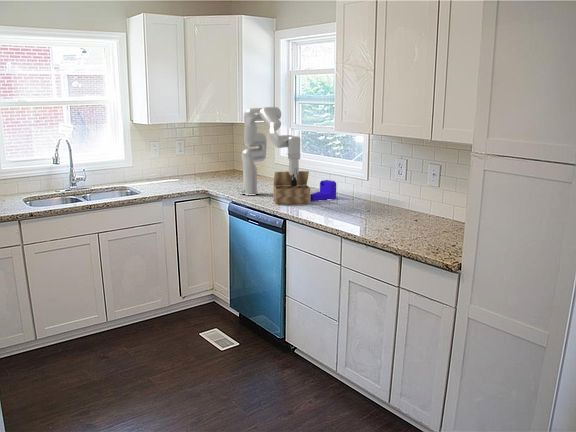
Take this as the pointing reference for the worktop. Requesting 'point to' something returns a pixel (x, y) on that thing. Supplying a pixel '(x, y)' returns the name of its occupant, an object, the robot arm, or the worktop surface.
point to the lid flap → (285, 178)
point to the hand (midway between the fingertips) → (294, 185)
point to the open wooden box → (291, 194)
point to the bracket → (325, 191)
